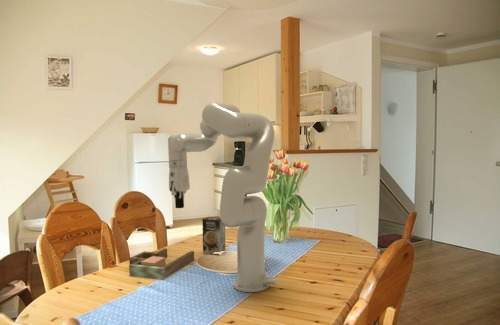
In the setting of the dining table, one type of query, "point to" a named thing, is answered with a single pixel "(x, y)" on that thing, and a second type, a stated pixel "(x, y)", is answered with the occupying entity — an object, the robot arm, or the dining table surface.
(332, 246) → the dining table surface
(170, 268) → the channel
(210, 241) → the coffee box
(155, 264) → the block
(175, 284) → the dining table surface
